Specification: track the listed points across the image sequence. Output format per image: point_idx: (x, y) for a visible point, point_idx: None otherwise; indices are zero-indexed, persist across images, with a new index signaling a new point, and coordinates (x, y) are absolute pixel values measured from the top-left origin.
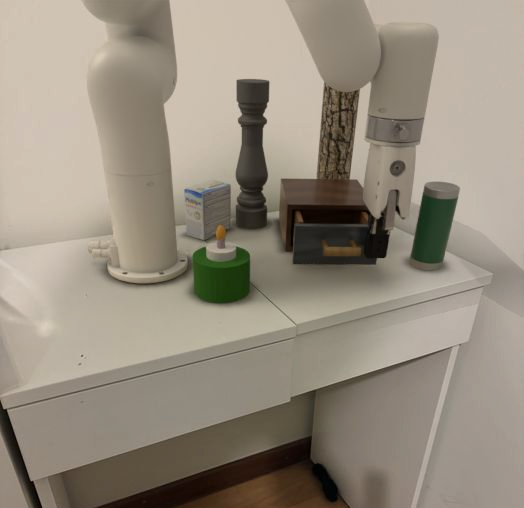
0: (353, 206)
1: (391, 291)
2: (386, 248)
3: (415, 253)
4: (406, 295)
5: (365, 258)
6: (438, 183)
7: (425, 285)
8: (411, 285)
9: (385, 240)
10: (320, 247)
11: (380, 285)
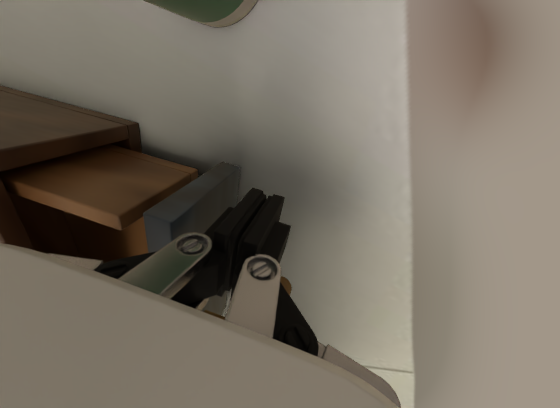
0: (8, 235)
1: (369, 182)
2: (275, 213)
3: (207, 14)
4: (408, 156)
5: (231, 202)
6: None
7: (372, 56)
8: (356, 107)
9: (264, 237)
10: (210, 304)
11: (329, 191)
